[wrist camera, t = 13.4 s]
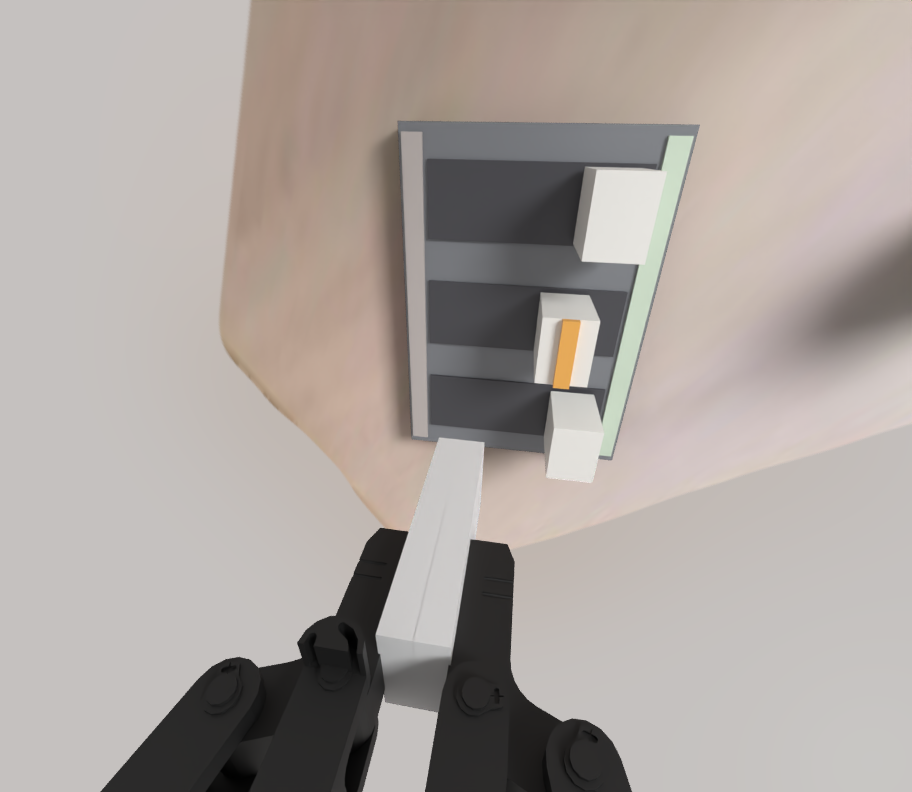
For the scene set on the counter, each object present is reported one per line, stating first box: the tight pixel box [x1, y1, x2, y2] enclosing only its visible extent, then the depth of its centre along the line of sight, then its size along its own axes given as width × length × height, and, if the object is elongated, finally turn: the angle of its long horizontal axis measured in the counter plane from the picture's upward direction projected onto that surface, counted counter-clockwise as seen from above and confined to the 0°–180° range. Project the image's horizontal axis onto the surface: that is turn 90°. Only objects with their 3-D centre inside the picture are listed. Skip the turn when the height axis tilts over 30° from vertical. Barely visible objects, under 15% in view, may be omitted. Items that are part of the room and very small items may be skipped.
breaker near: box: [573, 167, 667, 265], centre depth 22 cm, size 4×3×5 cm
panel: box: [398, 121, 700, 460], centre depth 29 cm, size 22×16×2 cm
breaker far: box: [544, 391, 604, 483], centre depth 29 cm, size 4×3×5 cm
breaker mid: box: [534, 292, 600, 389], centre depth 25 cm, size 4×3×5 cm
